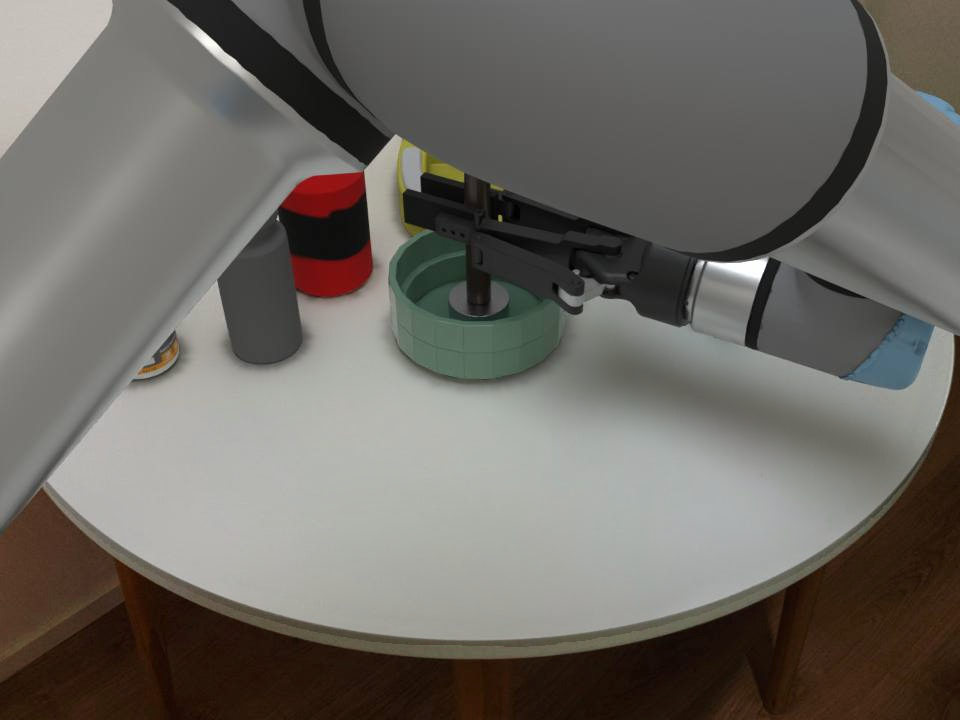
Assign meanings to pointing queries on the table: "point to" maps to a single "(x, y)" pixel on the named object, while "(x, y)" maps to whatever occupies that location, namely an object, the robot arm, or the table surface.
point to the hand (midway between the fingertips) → (415, 197)
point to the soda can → (328, 233)
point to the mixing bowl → (464, 344)
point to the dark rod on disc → (478, 271)
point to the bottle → (262, 298)
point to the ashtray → (411, 169)
